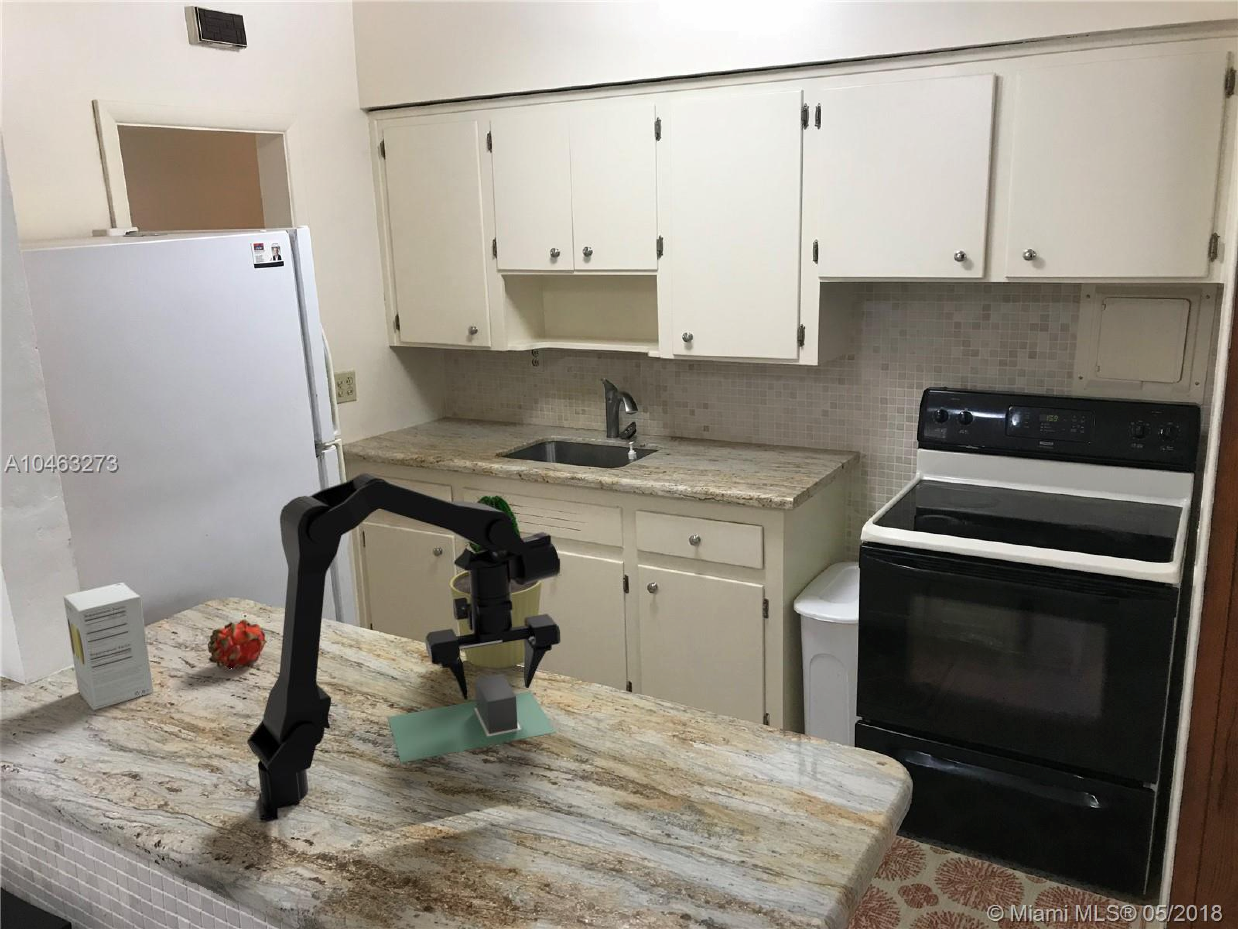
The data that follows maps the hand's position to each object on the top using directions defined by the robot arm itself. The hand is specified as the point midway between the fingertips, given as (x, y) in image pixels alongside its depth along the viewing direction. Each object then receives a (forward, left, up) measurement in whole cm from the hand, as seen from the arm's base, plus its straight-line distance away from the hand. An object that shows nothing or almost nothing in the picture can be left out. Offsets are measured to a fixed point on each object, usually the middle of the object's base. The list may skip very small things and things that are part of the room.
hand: (496, 692), depth 143 cm
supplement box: (+36, +55, -6) cm, 66 cm away
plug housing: (+2, 0, -4) cm, 4 cm away
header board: (0, +4, -6) cm, 7 cm away
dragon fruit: (+40, +36, -6) cm, 54 cm away
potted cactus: (+23, -6, -6) cm, 24 cm away
